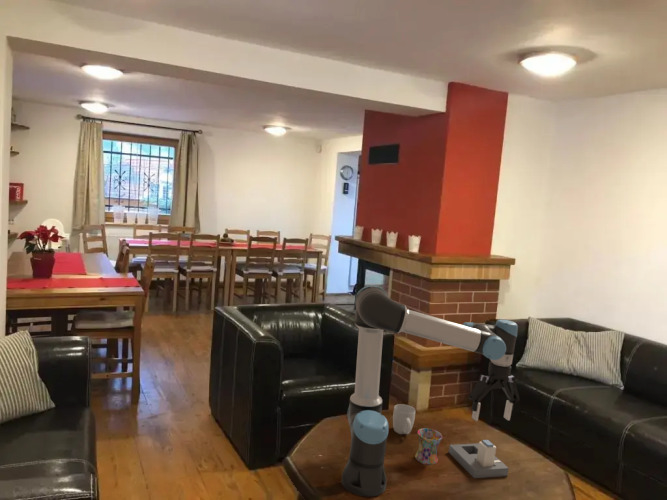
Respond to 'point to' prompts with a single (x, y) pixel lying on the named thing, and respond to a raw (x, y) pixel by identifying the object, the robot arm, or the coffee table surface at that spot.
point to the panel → (467, 459)
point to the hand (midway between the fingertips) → (490, 419)
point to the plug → (486, 453)
